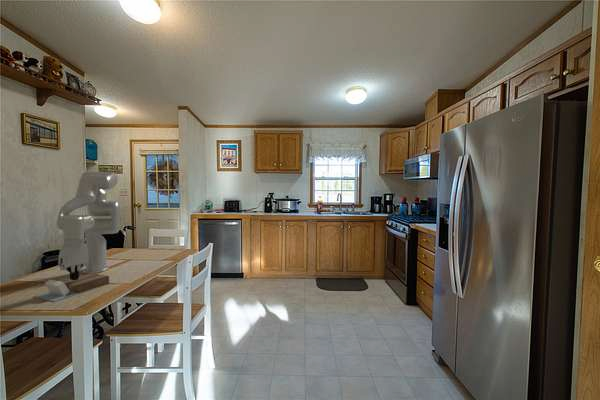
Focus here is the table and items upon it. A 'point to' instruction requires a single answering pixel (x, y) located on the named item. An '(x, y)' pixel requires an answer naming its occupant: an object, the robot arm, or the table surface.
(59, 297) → the mat
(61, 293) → the white rectangular block
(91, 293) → the table surface
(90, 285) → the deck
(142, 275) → the table surface
